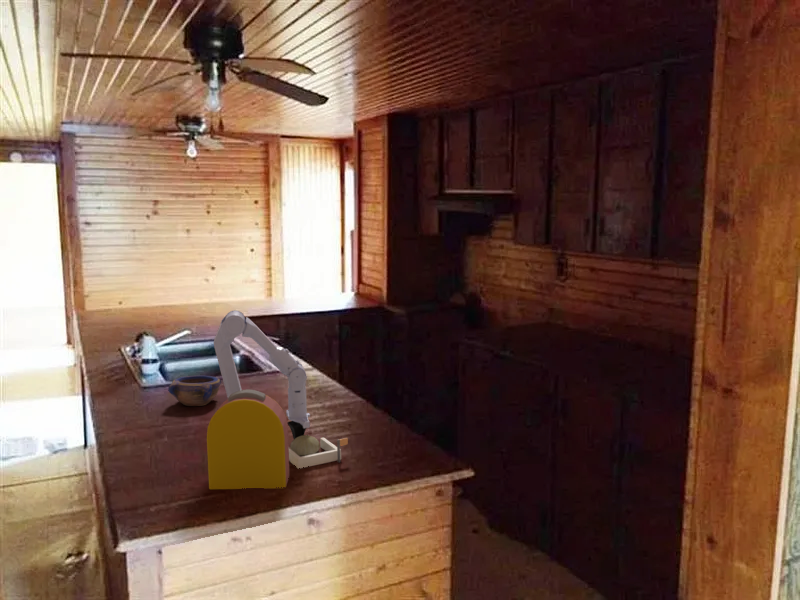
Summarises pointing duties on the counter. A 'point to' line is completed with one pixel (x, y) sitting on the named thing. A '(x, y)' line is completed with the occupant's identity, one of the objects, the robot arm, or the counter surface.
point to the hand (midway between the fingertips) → (298, 443)
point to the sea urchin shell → (305, 445)
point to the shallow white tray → (319, 454)
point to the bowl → (195, 389)
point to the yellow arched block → (248, 443)
